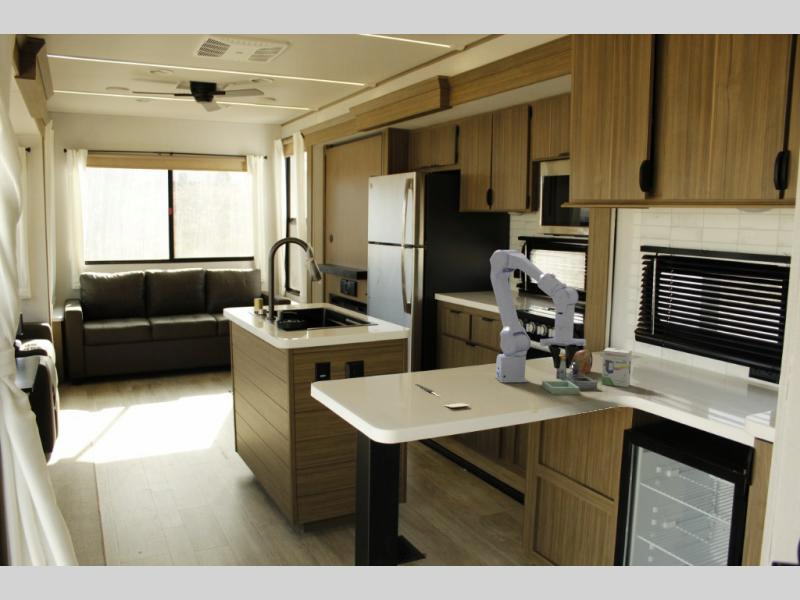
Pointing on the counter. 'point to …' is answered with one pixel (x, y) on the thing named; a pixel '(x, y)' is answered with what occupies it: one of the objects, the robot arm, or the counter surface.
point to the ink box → (616, 367)
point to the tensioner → (580, 379)
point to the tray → (560, 387)
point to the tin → (583, 361)
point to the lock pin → (562, 367)
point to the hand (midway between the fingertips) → (561, 368)
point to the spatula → (438, 395)
